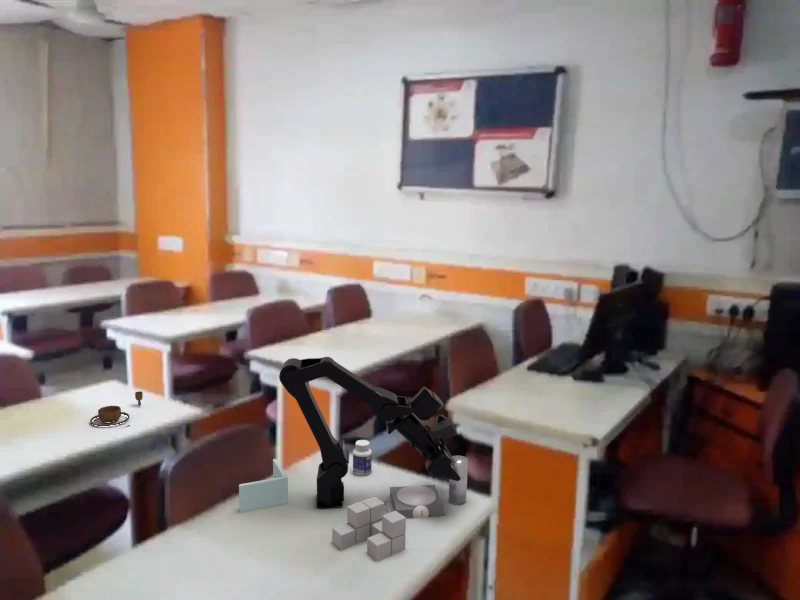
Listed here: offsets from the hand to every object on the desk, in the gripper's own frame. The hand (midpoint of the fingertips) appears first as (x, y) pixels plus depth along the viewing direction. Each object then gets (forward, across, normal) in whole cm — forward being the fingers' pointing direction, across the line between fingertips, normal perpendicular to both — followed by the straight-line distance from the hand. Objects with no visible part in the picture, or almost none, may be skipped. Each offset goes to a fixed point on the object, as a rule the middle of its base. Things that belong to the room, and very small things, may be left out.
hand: (456, 471), depth 167 cm
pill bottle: (-11, +17, +23) cm, 31 cm away
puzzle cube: (-10, -20, +22) cm, 32 cm away
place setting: (-68, +59, +80) cm, 121 cm away
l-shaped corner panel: (-30, +3, +42) cm, 52 cm away
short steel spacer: (-8, -9, +20) cm, 23 cm away
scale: (-2, -2, +13) cm, 13 cm away
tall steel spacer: (+6, 0, +6) cm, 8 cm away
